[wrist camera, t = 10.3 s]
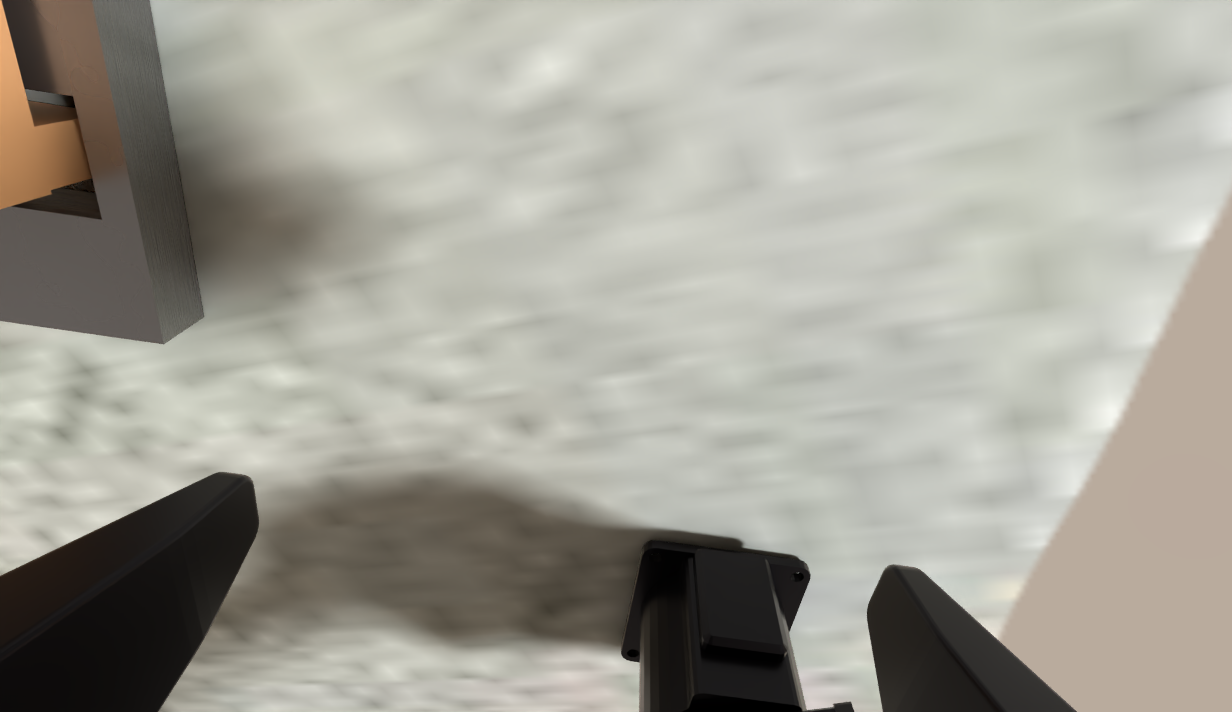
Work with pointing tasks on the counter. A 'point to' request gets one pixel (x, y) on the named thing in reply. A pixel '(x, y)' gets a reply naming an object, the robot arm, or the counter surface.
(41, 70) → the rail
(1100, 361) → the counter surface
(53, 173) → the clip
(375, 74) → the counter surface
